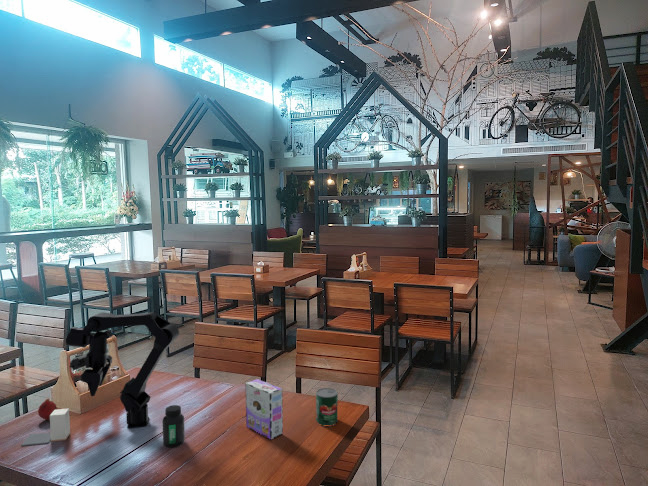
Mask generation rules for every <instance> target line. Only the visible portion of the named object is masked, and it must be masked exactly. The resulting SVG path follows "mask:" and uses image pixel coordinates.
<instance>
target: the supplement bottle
mask: <svg viewBox="0 0 648 486" xmlns="http://www.w3.org/2000/svg"><path fill="white" fill-rule="evenodd" d="M181 408H182V407H181V406H180V405H178V404H173V405H168V406H167V407H166V408H165V411H164V412H165V413H164V414H165V416H164V417H162V444H163V446H164V447H165V448H167V447H168V449H169V448H170V449H173V448H174V447H175V448H177V447H180V445H181V446H182V445H183V444H184V443H185V439H186V435H185V429H186V428H185V416H184V415H183V413H182V409H181Z"/></svg>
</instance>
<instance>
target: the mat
mask: <svg viewBox="0 0 648 486" xmlns="http://www.w3.org/2000/svg"><path fill="white" fill-rule="evenodd" d="M50 442H52V441H51V432H43V433H41V432H40V433H33V434H31V433H30V434H29V435H28V436H27V438H26V439H25V440H24V441H23V442H22V444H21V447H26V446H27V447H28V446H35V445H37V446H38V445H46V444H49V443H50Z"/></svg>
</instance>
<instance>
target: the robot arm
mask: <svg viewBox="0 0 648 486" xmlns="http://www.w3.org/2000/svg"><path fill="white" fill-rule="evenodd" d="M136 326H145V327H146V328H147V329H148V331H149V332H150V333H151V334H150V335H152V336H153V337H154V341H153V347H152V349H151V351H150V353H149V354H148V356H147V358H146V360H145V361H144V363H142V364H143V365H142V366H141V367H140V370H139V371H138V373H137V375H136V376H135V377H132V378H131V379H129V380H128V381H127V382H126V383H125V384H124V385H123V386H124V387H123V388H122V390H121V391H120V392H119V393H120V396H119V399H120V402H121V404H123V407H124V410H125V412H126V415H125V416H126V424H127V426H126V427H127V429H131V428H141V427H142V428H143V427H146V426H148V423H149V421H150V416H149V407H148V405H149V404H148V403H150V400H151V395H149V393H147V392H146V388H147V382H148V380H149V378H150V377H151V376H152V374H153V372H154V370H155V368H156V367H157V365H158V363H159V361H160V360H161V358H162V357H163V354H164V353H165V352H166V350H167V349H168V348H169V347H170V346H171V345H172V344H173V343H174V341H176V339H177V338H178V337H179V336H180V335H179V334H180V331H179V327H178V326H177V325H174V324H173V323H170V322H169V321H168V320H167V319H165V318H163V317H161V316H159V315H158V314H157V313H156V312H152V311H150V312H145V313H129V314H114V313H111V312H99V313H97V314H95V315H94V314H93V315H92V316H90V317H89V318H88V320H87V323H86V325H85V326H84V327H83V328H82V327H76V326H73V327H70V328H69V332H68V334H67V335H66V337H65V344H66V346H67V347H74V348H86V347H88V346H89V347H88V352H87V353H86V354H82V355H79V356H77V357H73V359H71V361H70V362H69V364H70V365H69V368H71V369H72V371H76V370H78V369H80V368H81V369H82V368H84V367H85V370H84V371H83V372H82V373H81V375H80V379H79V380H80V381H81V382H82V383H86V384H87V387H88V390H89V393H90V396H91V397H95V396H96V393H97V391H98V389H99V387H100V386H102V384H103V382H104V380H105V378H106V376H107V373H108V372H109V369H110V367H111V364H112V363H113V357H112V356H111V355H110V354H108V353H109V348H108V339H110V338H111V337H113V336H114V333H113V332H111V331H110V330H109V329H113V328H120V327H121V328H122V327H123V328H124V327H136Z"/></svg>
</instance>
